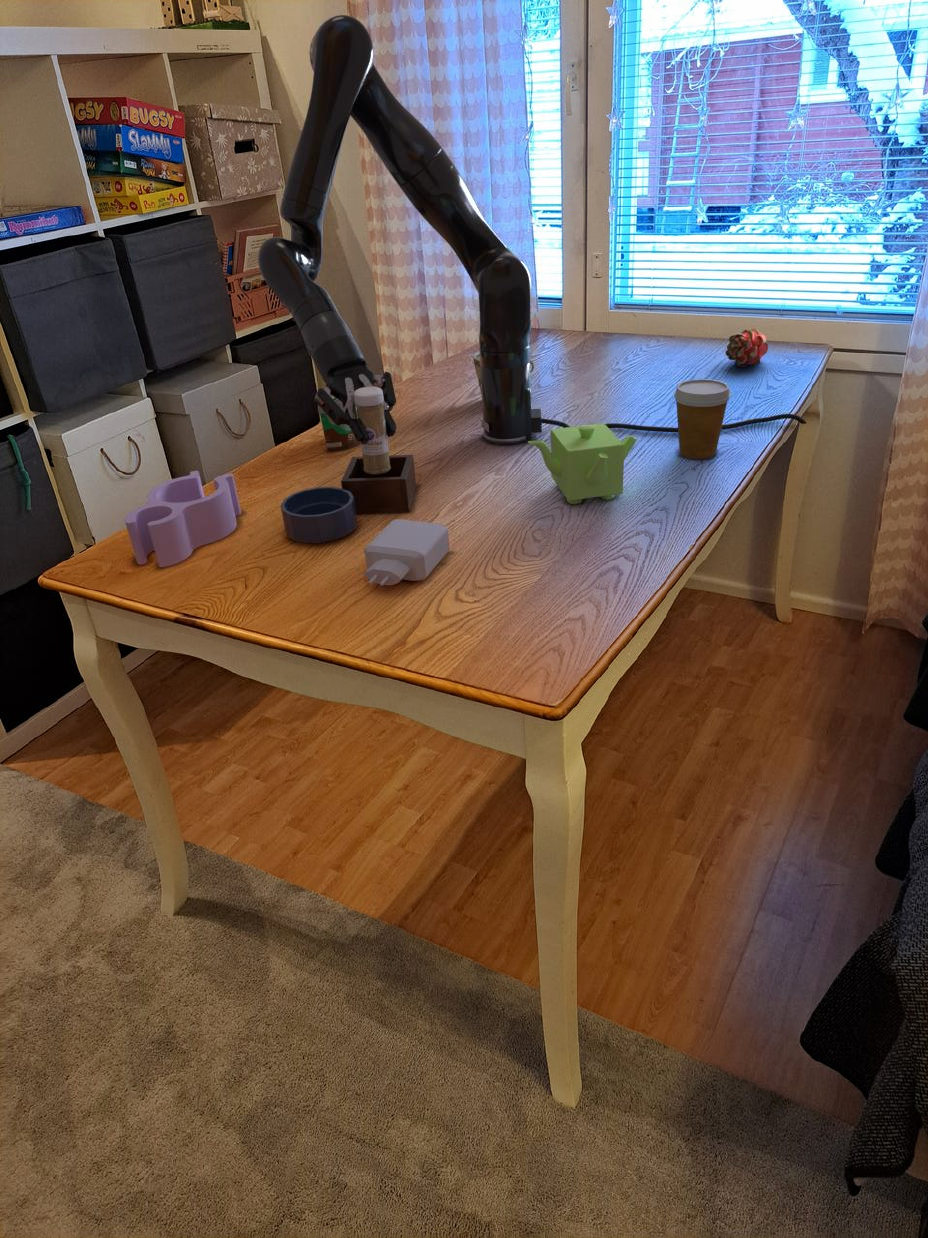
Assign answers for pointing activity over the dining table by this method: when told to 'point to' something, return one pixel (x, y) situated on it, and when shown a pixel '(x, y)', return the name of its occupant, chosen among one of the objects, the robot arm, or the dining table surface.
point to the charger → (405, 551)
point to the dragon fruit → (747, 347)
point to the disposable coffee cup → (700, 416)
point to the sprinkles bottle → (373, 429)
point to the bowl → (319, 514)
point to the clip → (182, 518)
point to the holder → (381, 485)
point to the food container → (336, 432)
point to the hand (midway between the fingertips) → (379, 437)
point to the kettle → (586, 461)
